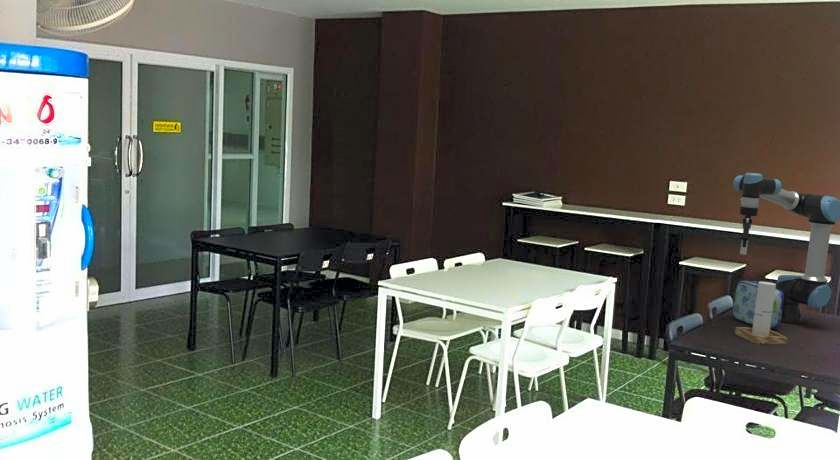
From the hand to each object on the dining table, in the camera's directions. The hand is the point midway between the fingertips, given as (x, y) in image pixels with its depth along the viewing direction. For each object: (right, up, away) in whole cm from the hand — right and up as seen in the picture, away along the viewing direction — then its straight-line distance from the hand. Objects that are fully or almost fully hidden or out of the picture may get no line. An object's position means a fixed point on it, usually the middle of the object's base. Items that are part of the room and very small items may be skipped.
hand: (743, 252), depth 378 cm
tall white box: (+4, -38, -10) cm, 40 cm away
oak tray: (+4, -39, -10) cm, 40 cm away
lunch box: (+14, -36, +21) cm, 44 cm away
